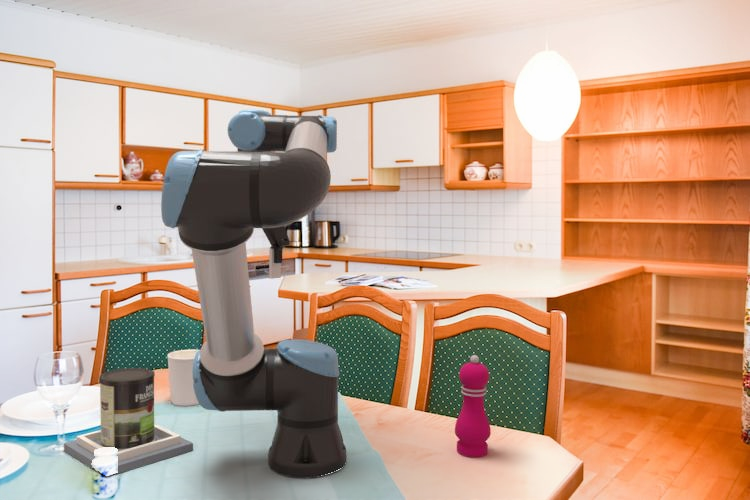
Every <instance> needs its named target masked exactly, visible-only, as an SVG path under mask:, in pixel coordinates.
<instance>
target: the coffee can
mask: <svg viewBox="0 0 750 500" xmlns="http://www.w3.org/2000/svg"><path fill="white" fill-rule="evenodd" d="M98 377H99V385H100V386H99V387H100V388H99V389H100V392H99V395H100V402H99V403H100V430H101V446H102V447H115V448H117V449H118V452H119V451H122V450H126V449H129V448H133V447H136V446H140V445H143V444H147V443H150V442H154V441H155V438H154V424H155V371H154V370H152V369H149V368H144V367H143V368H141V367H129V368H120V369H119V368H118V369H113V370H109V371H105V372H103V373H101V374H100V375H99V376H98Z"/></svg>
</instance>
